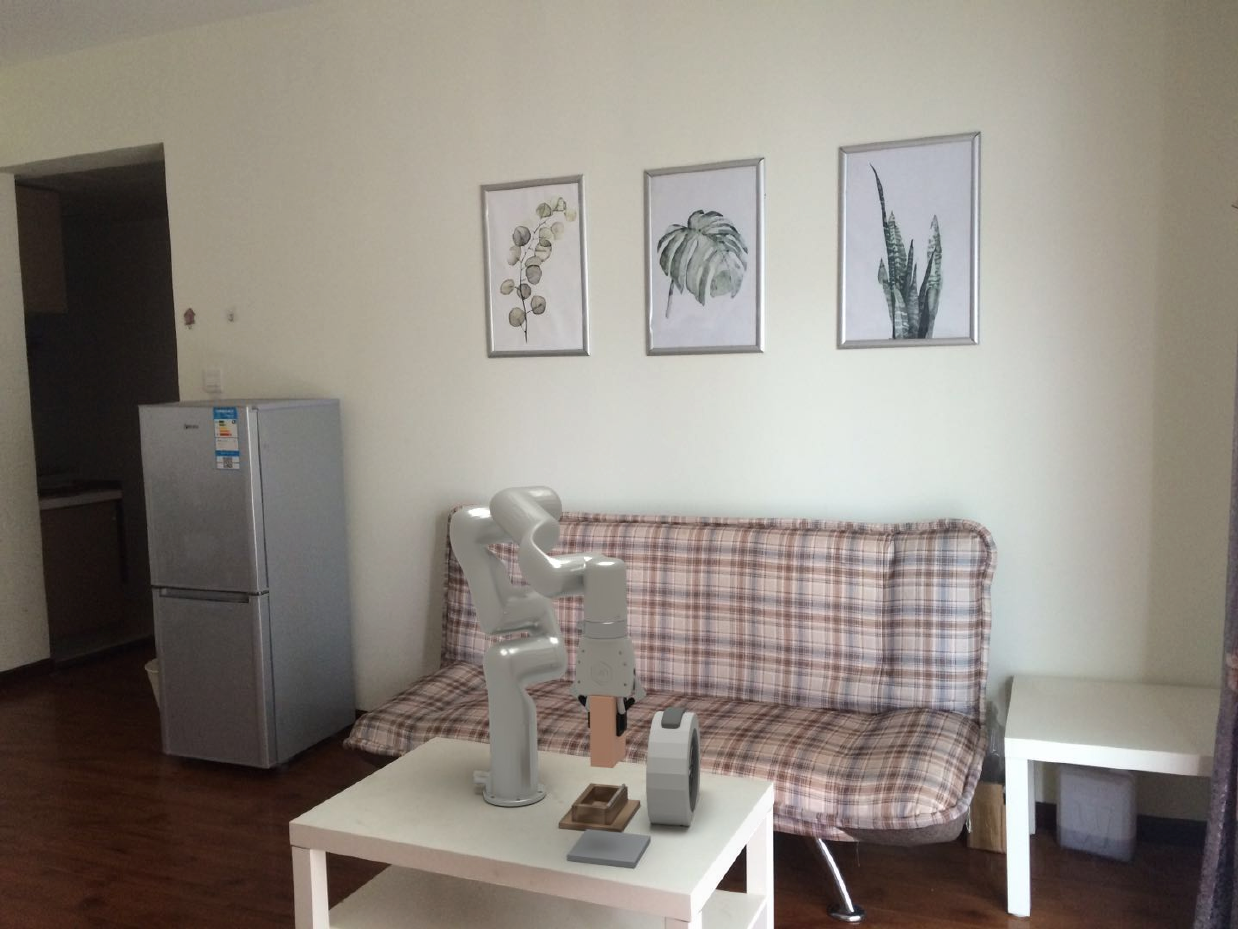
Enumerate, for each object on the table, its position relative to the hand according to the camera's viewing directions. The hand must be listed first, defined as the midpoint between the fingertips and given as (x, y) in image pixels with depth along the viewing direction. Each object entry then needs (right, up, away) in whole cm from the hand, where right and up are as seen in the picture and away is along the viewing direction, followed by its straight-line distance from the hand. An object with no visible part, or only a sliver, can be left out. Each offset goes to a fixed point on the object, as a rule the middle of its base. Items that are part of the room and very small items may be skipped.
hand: (607, 732), depth 173 cm
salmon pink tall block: (0, -5, 0) cm, 5 cm away
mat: (0, -21, +1) cm, 21 cm away
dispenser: (-2, -20, +16) cm, 26 cm away
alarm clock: (+13, -20, +18) cm, 30 cm away
